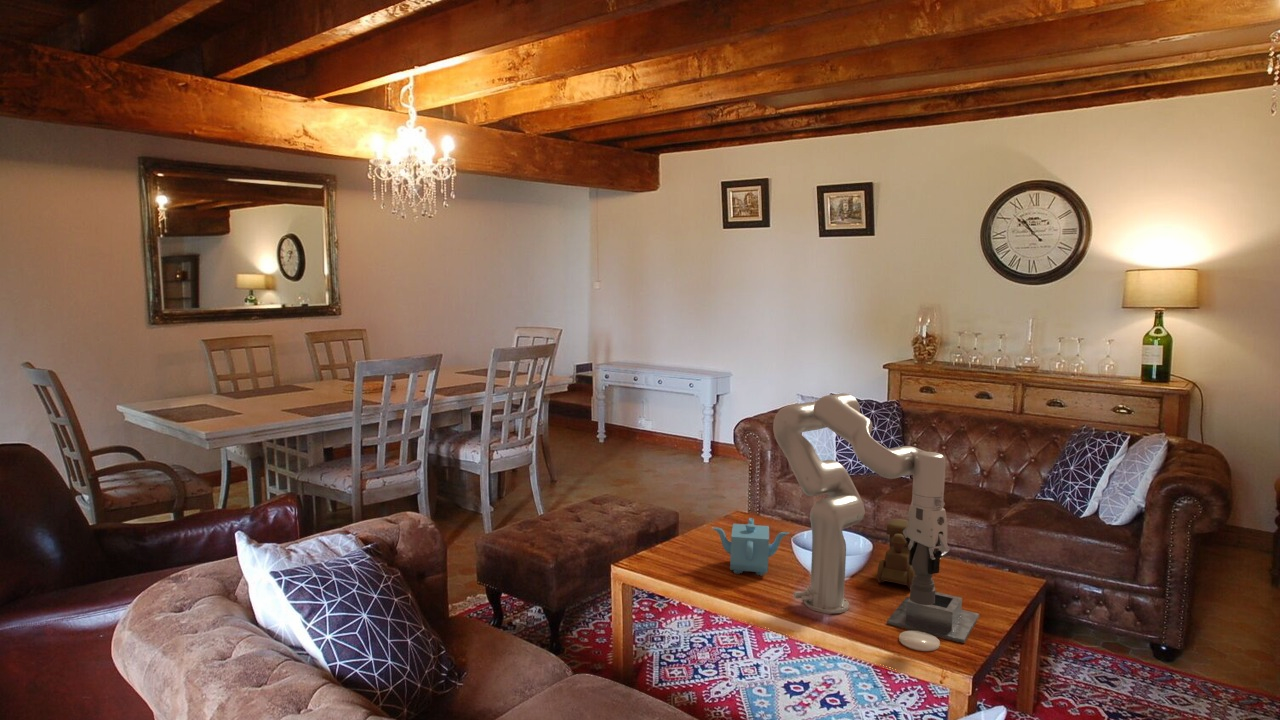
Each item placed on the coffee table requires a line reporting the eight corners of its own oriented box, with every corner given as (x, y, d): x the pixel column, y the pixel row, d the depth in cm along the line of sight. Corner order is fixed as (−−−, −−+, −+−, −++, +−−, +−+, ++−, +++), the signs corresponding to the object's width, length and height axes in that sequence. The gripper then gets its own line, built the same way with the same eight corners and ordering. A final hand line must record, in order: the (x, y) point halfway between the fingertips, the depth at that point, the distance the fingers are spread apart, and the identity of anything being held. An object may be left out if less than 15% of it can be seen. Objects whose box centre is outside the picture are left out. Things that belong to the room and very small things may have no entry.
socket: (964, 643, 205) (965, 621, 204) (886, 623, 216) (887, 602, 215) (978, 617, 221) (980, 596, 221) (906, 600, 232) (907, 580, 232)
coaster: (910, 652, 200) (910, 649, 200) (892, 634, 209) (892, 631, 209) (947, 650, 201) (947, 647, 201) (927, 632, 211) (927, 629, 211)
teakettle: (748, 584, 242) (750, 537, 241) (708, 565, 257) (709, 521, 256) (790, 571, 254) (792, 527, 252) (749, 554, 268) (751, 512, 267)
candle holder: (907, 601, 203) (912, 507, 200) (911, 593, 208) (916, 501, 206) (933, 606, 200) (938, 510, 197) (936, 598, 205) (942, 504, 203)
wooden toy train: (887, 565, 260) (890, 516, 259) (923, 572, 255) (926, 522, 253) (874, 585, 243) (877, 533, 241) (912, 593, 238) (915, 540, 236)
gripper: (964, 508, 195) (960, 578, 197) (914, 490, 211) (911, 556, 213) (941, 511, 192) (937, 582, 194) (892, 493, 208) (889, 559, 210)
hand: (923, 568), depth 203 cm, fingers closed on candle holder, 5 cm apart
